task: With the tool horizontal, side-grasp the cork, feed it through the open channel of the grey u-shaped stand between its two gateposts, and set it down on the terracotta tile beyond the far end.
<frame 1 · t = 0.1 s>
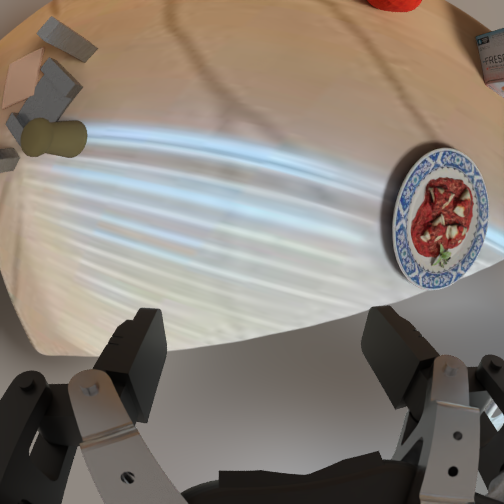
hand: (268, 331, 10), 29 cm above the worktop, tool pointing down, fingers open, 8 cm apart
cork: (72, 139, 33), on the worktop
apple: (376, 1, 27), on the worktop
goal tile: (22, 78, 27), on the worktop
grey u-shaped stand: (44, 106, 30), on the worktop
ceramic plate: (441, 219, 40), on the worktop
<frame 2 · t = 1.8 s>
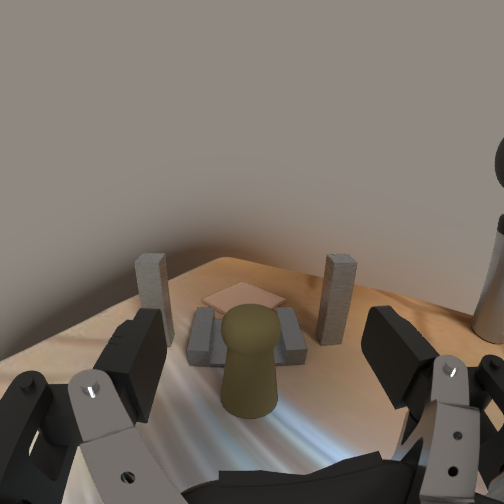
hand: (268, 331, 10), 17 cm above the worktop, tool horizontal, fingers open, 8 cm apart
cork: (249, 398, 26), on the worktop
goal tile: (243, 302, 46), on the worktop
grey u-shaped stand: (245, 342, 35), on the worktop
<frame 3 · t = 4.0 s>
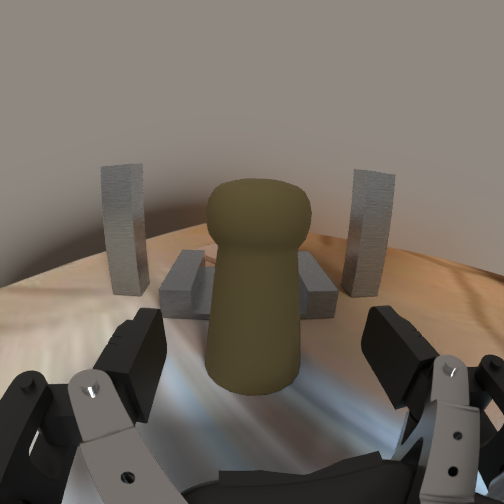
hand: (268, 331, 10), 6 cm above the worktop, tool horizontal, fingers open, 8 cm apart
cork: (252, 363, 16), on the worktop
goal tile: (244, 254, 36), on the worktop
grey u-shaped stand: (247, 291, 26), on the worktop
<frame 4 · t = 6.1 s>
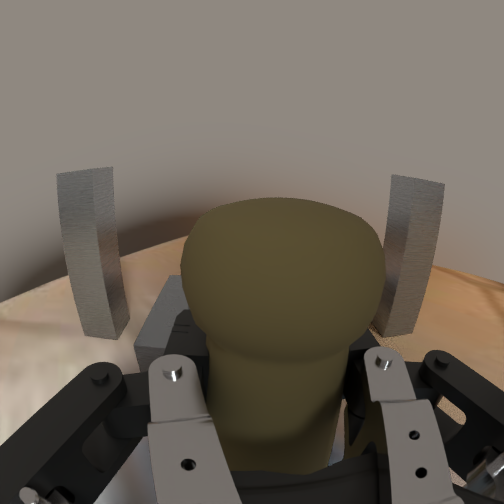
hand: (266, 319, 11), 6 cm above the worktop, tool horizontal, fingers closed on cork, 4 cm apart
cork: (264, 454, 10), on the worktop, touching gripper
grey u-shaped stand: (252, 334, 19), on the worktop
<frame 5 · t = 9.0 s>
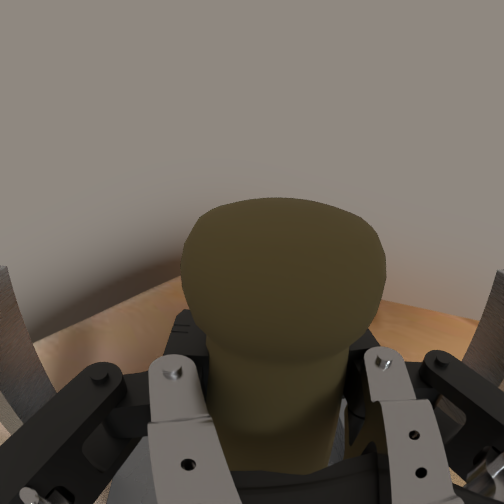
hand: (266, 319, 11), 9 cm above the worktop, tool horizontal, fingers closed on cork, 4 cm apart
cork: (264, 455, 10), point 3 cm above the worktop, touching gripper
grey u-shaped stand: (260, 490, 10), on the worktop
when the fingers open (8 cm above the worktop, at t = 11.8 s): cork moves 2 cm, resting on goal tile.
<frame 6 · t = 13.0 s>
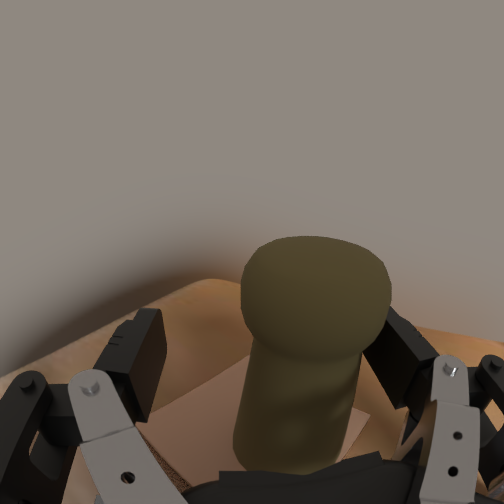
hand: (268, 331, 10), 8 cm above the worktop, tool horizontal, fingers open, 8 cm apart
cork: (287, 441, 12), resting on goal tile, touching gripper
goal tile: (255, 435, 13), on the worktop
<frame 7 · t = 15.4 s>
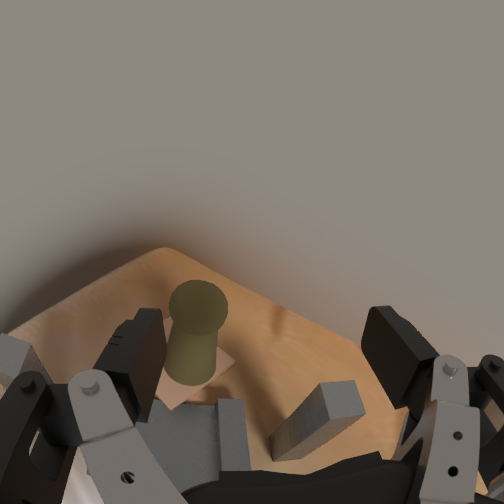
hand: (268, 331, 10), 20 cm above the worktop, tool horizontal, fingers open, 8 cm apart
cork: (189, 364, 28), resting on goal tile
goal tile: (174, 357, 29), on the worktop
grey u-shaped stand: (169, 446, 20), on the worktop
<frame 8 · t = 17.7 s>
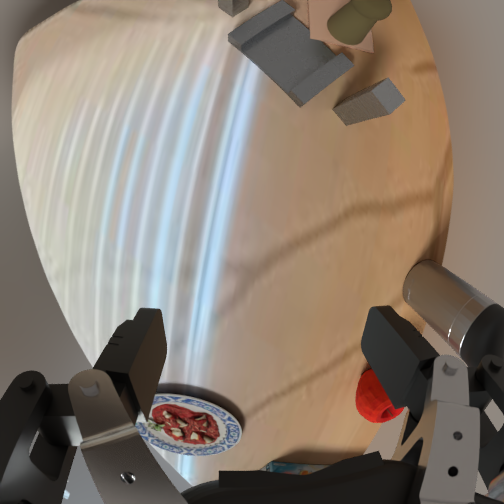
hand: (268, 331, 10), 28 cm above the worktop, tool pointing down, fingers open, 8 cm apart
cork: (345, 29, 28), resting on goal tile
soda box: (314, 472, 64), on the worktop
apple: (368, 374, 49), on the worktop
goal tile: (340, 21, 28), on the worktop
grey u-shaped stand: (290, 52, 30), on the worktop
ceramic plate: (184, 422, 51), on the worktop
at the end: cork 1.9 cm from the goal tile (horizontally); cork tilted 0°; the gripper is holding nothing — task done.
